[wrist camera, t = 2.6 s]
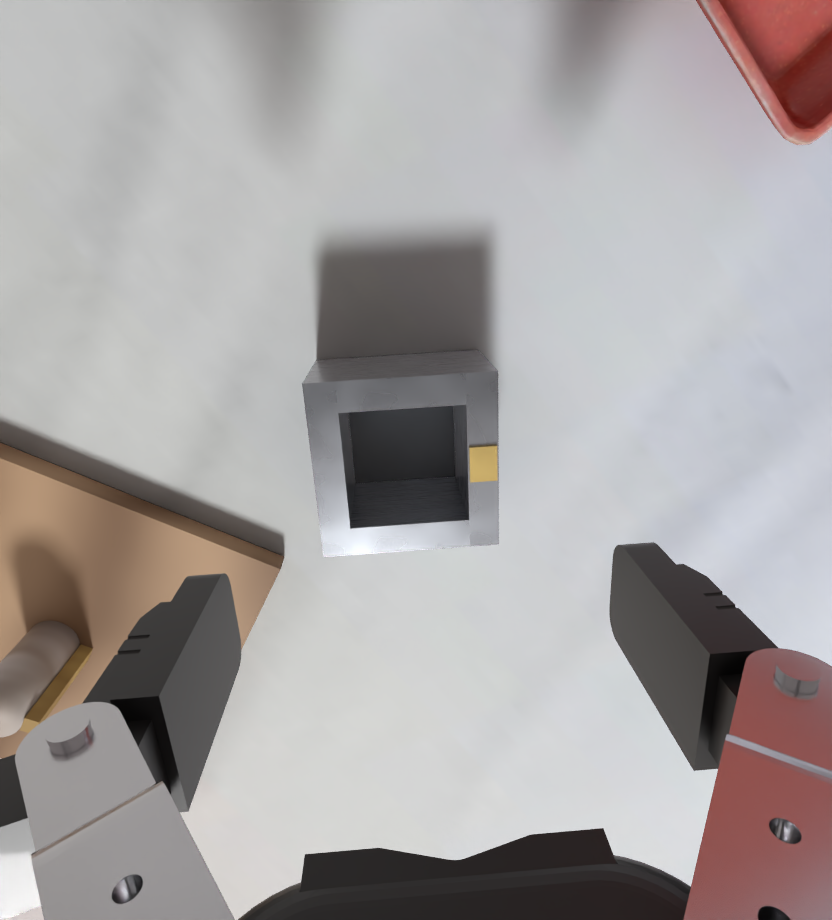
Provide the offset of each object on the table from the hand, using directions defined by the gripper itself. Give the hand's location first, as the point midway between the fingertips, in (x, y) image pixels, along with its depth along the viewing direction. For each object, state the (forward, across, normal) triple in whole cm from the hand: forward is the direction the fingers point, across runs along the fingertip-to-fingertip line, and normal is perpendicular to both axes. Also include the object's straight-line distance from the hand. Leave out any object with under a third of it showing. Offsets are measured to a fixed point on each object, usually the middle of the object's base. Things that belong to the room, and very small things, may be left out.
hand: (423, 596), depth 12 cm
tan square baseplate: (+11, +15, +7) cm, 20 cm away
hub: (+11, 0, 0) cm, 11 cm away
